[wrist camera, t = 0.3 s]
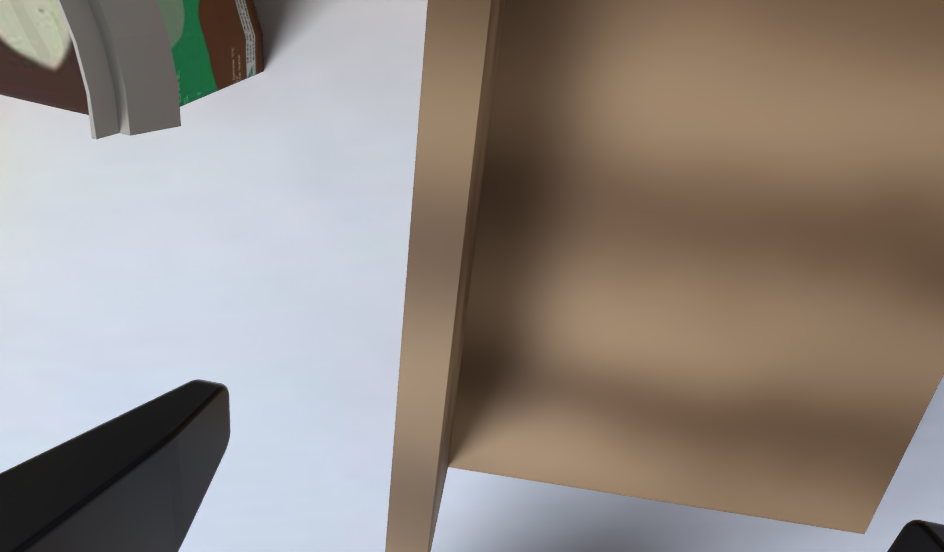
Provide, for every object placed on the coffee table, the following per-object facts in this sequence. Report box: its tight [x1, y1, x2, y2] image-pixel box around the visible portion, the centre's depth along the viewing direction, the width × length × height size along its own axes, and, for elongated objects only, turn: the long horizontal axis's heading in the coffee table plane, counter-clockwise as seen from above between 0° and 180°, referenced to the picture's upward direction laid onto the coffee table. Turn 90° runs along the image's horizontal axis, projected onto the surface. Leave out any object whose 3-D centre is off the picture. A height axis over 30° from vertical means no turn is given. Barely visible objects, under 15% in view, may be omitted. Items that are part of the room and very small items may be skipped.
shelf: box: [385, 0, 944, 552], centre depth 18 cm, size 20×16×8 cm
